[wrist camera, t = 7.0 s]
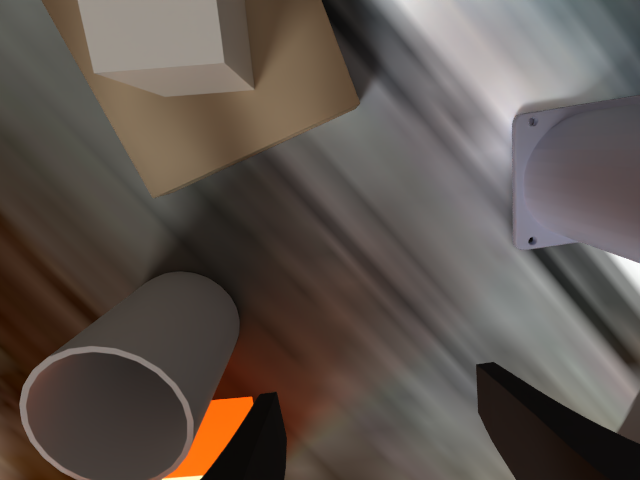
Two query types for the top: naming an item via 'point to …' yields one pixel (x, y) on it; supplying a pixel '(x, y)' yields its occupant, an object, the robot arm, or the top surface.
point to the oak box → (225, 96)
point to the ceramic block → (170, 44)
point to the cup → (133, 382)
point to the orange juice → (212, 437)
